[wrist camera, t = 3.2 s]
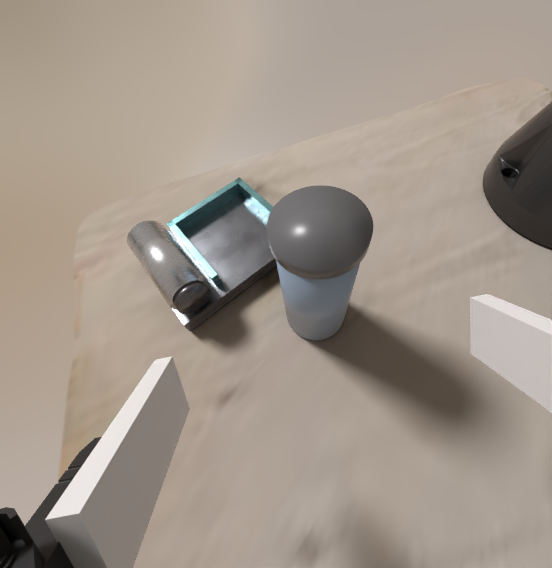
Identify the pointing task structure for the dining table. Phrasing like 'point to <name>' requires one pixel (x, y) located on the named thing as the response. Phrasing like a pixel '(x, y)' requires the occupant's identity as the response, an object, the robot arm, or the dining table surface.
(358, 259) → the ball
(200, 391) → the dining table surface
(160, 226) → the motor mount
